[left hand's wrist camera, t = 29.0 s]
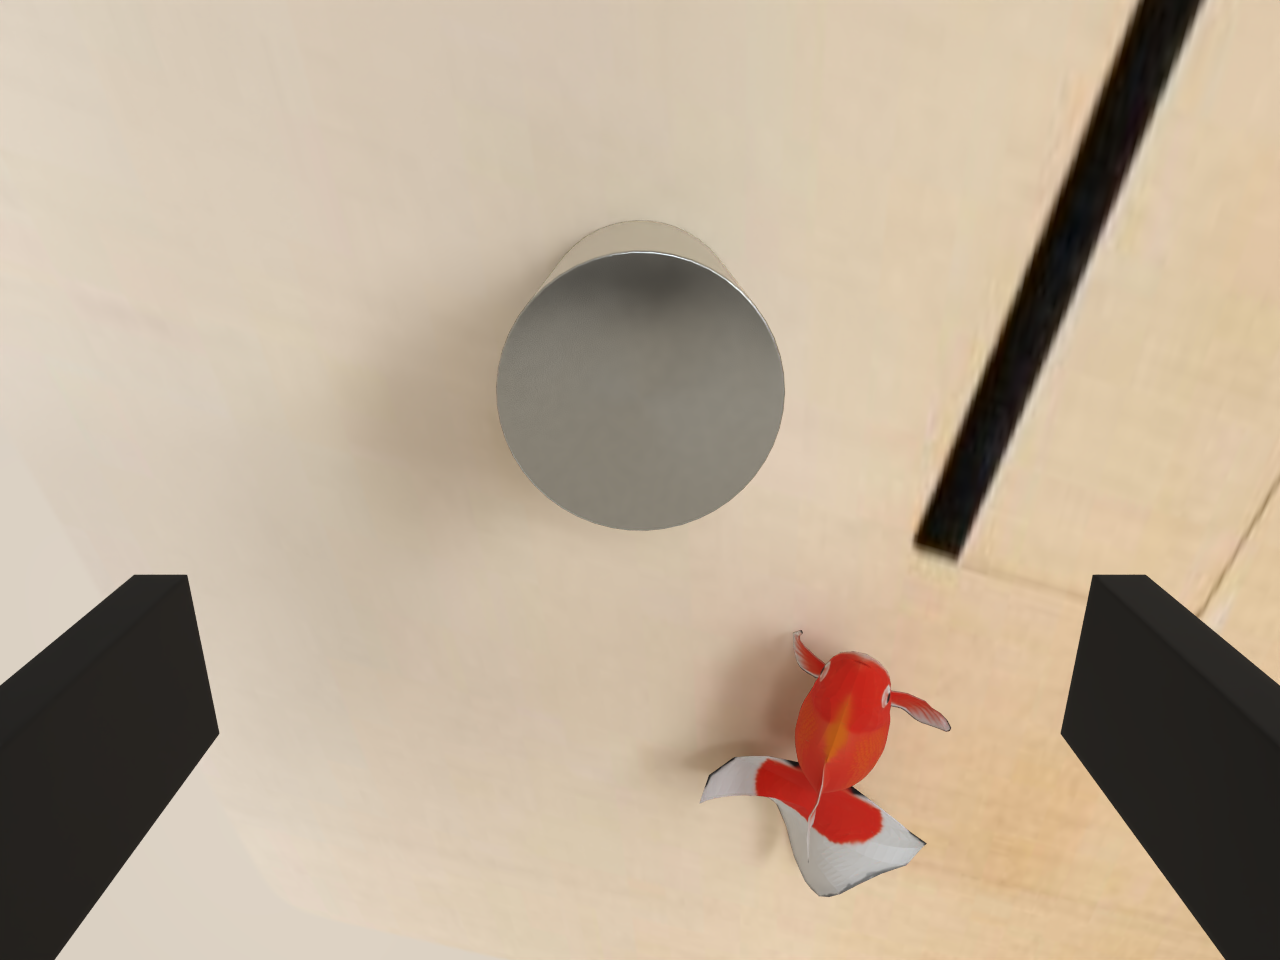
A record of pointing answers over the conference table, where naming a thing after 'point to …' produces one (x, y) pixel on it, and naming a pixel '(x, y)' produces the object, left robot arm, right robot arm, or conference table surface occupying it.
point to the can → (640, 381)
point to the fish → (834, 774)
